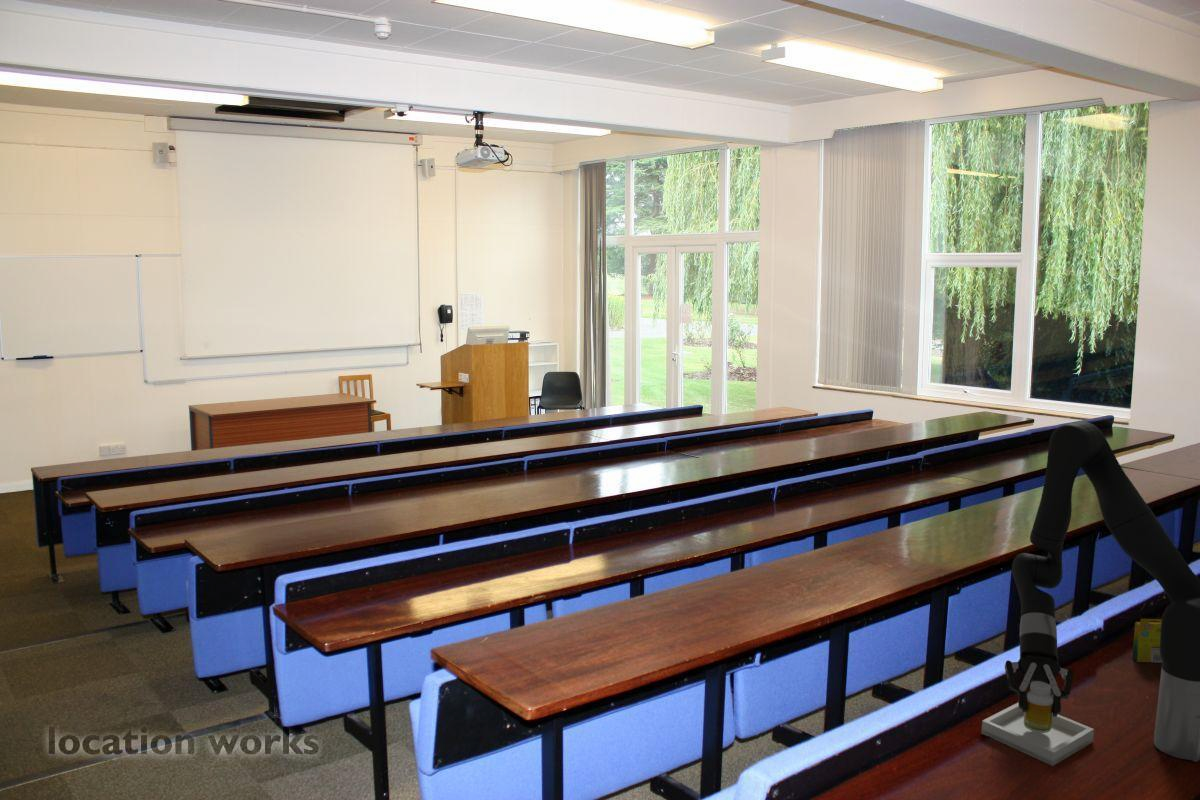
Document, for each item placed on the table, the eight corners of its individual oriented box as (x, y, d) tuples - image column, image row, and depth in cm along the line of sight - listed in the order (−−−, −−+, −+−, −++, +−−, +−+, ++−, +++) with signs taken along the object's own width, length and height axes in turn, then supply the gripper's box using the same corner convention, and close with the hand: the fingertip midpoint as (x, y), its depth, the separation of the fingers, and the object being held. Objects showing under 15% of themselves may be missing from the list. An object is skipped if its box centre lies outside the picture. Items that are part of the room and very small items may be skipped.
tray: (1092, 742, 202) (1094, 729, 202) (1052, 766, 193) (1054, 752, 192) (1022, 712, 215) (1023, 700, 214) (981, 733, 206) (982, 720, 205)
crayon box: (1161, 658, 243) (1166, 615, 241) (1167, 663, 240) (1171, 620, 238) (1131, 657, 244) (1135, 614, 242) (1136, 662, 241) (1140, 618, 239)
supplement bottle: (1053, 735, 201) (1057, 692, 199) (1026, 732, 202) (1030, 689, 200) (1047, 722, 206) (1051, 680, 204) (1020, 719, 207) (1024, 678, 205)
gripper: (1004, 626, 210) (1004, 702, 201) (1076, 635, 205) (1080, 713, 196) (1001, 640, 216) (1001, 713, 207) (1071, 648, 211) (1074, 724, 202)
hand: (1039, 712), depth 201 cm, fingers closed on supplement bottle, 5 cm apart
